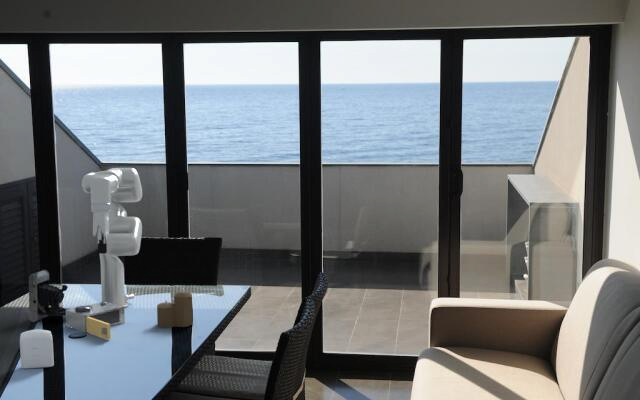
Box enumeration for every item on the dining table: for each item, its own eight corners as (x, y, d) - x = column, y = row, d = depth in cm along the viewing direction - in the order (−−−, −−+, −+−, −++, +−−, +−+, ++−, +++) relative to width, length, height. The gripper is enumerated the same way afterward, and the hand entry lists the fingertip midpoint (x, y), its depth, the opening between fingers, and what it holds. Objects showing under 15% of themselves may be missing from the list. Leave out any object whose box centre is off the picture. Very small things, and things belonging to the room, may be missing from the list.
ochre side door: (111, 339, 289) (110, 322, 289) (105, 341, 288) (104, 323, 287) (87, 331, 301) (87, 314, 300) (82, 332, 299) (81, 315, 298)
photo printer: (19, 369, 256) (18, 332, 255) (22, 365, 261) (20, 329, 259) (52, 367, 258) (51, 331, 257) (54, 363, 262) (53, 327, 261)
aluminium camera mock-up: (105, 317, 322) (104, 298, 321) (124, 322, 314) (124, 303, 313) (66, 326, 309) (65, 307, 308) (85, 332, 300) (85, 312, 299)
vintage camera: (63, 325, 312) (64, 275, 310) (28, 322, 315) (28, 272, 313) (76, 319, 321) (76, 271, 319) (41, 316, 324) (41, 268, 322)
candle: (200, 321, 316) (199, 284, 315) (184, 329, 304) (183, 291, 302) (170, 318, 321) (169, 282, 319) (153, 327, 308) (152, 289, 306)
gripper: (95, 205, 321) (96, 250, 323) (87, 209, 307) (89, 256, 309) (113, 205, 322) (115, 249, 324) (107, 209, 307) (108, 256, 309)
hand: (102, 253), depth 316 cm, fingers closed
